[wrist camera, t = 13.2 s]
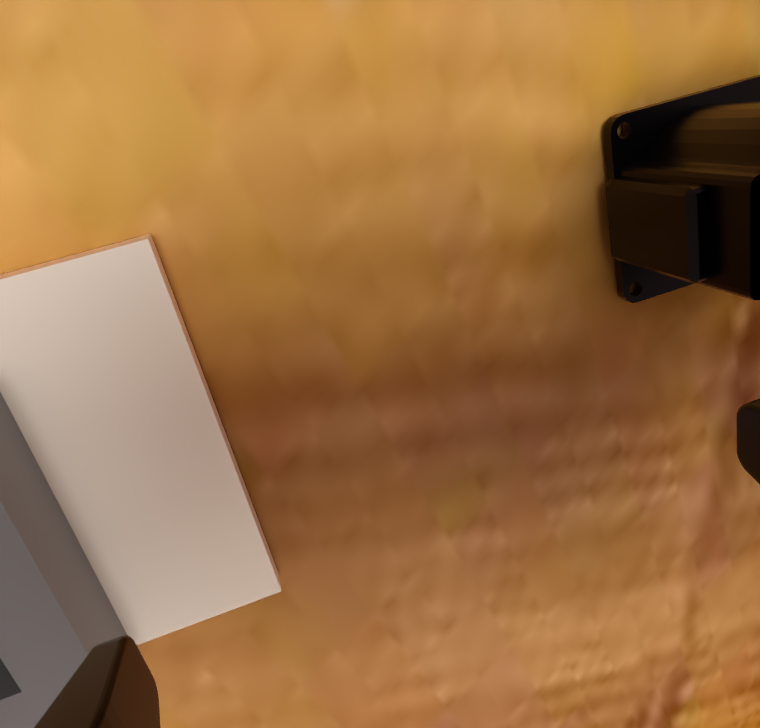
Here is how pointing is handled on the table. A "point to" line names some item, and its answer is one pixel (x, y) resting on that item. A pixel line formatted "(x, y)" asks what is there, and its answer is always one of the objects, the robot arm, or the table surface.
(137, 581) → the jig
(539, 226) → the table surface
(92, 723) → the robot arm
